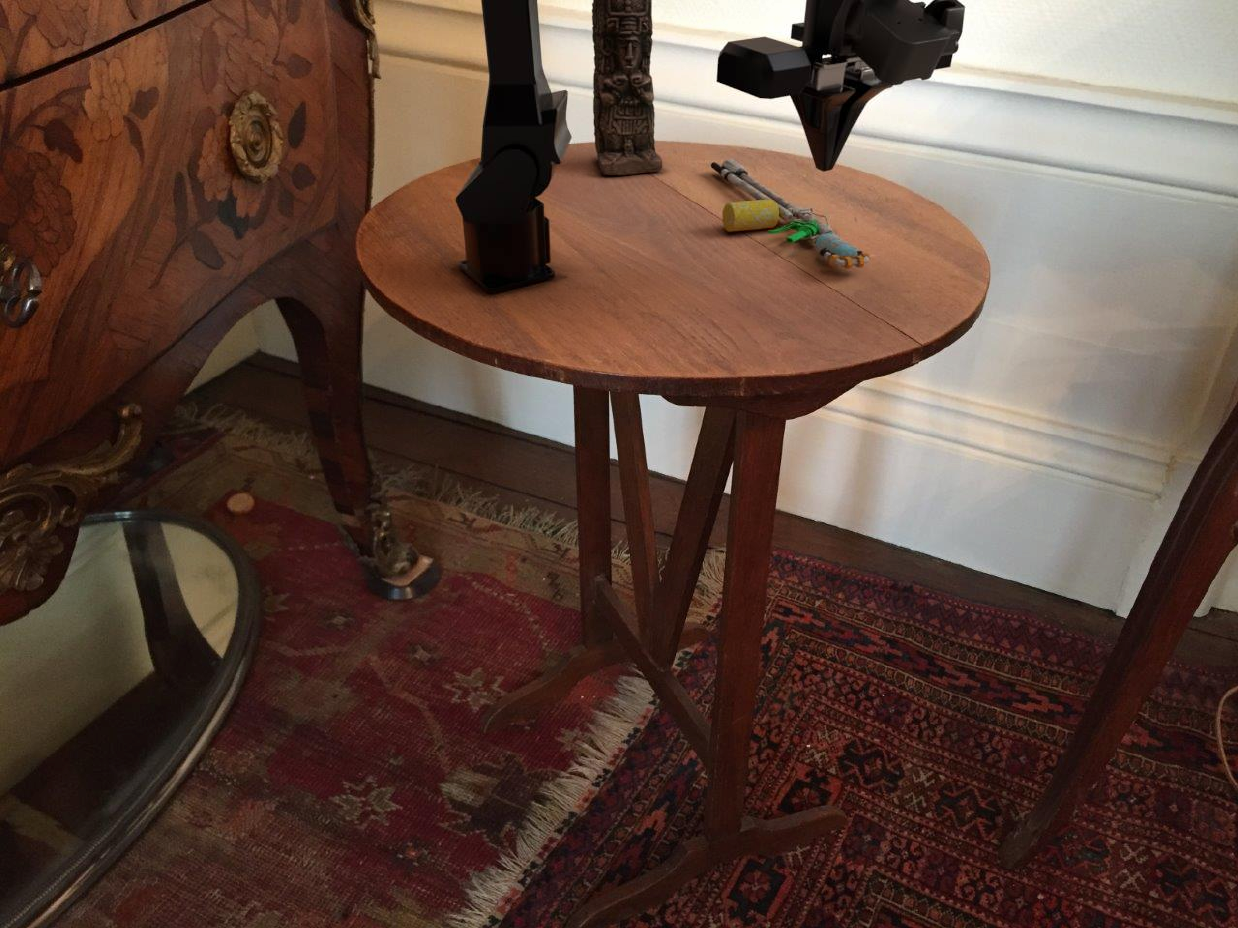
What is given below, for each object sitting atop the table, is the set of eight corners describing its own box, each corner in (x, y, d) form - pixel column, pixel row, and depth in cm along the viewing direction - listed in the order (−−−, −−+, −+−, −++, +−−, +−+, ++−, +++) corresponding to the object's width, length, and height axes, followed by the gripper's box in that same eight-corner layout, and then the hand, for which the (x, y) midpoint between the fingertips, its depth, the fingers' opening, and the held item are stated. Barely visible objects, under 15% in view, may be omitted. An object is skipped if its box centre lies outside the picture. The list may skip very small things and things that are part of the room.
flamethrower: (793, 285, 81) (893, 274, 85) (798, 256, 80) (899, 245, 83) (662, 181, 104) (744, 175, 107) (663, 156, 102) (747, 151, 106)
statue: (602, 178, 104) (601, -27, 93) (588, 157, 110) (586, -38, 98) (663, 173, 106) (669, -29, 94) (646, 153, 111) (650, -40, 99)
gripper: (829, -22, 58) (799, 226, 67) (1036, -45, 66) (984, 179, 75) (719, -47, 65) (706, 179, 75) (916, -65, 73) (882, 140, 83)
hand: (824, 169), depth 76 cm, fingers closed
